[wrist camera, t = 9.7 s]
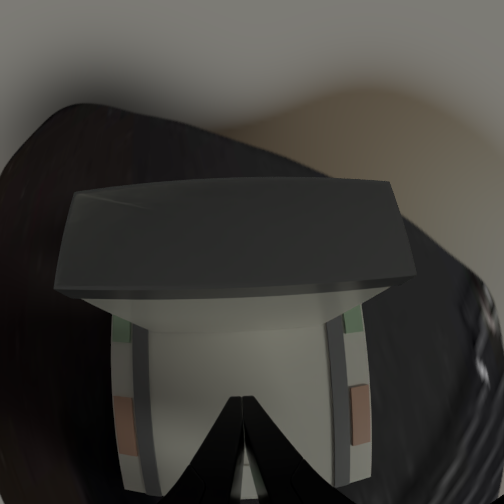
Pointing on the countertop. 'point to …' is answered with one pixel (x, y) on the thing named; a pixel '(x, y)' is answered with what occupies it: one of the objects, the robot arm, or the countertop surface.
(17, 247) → the countertop surface
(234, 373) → the switch panel
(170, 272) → the switch slider
